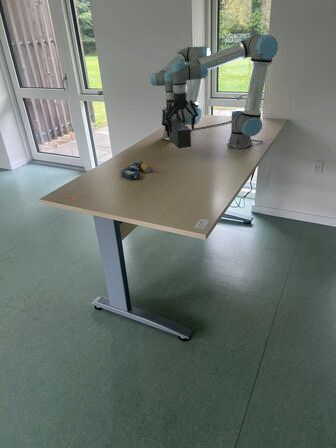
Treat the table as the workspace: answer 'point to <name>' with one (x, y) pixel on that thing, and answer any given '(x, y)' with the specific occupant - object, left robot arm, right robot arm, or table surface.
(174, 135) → the box
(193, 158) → the table surface
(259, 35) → the right robot arm
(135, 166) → the spray gun
